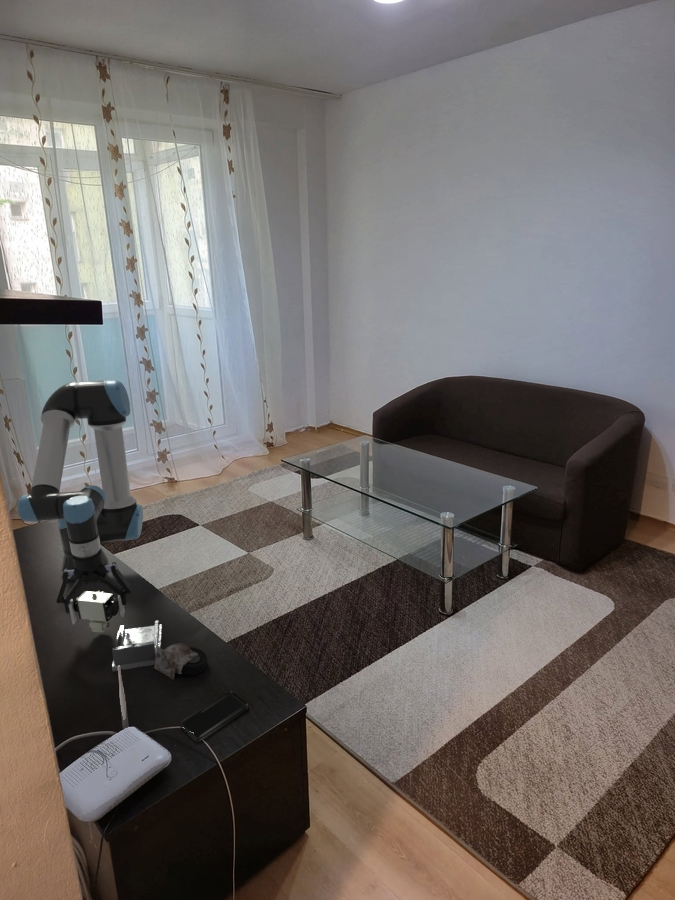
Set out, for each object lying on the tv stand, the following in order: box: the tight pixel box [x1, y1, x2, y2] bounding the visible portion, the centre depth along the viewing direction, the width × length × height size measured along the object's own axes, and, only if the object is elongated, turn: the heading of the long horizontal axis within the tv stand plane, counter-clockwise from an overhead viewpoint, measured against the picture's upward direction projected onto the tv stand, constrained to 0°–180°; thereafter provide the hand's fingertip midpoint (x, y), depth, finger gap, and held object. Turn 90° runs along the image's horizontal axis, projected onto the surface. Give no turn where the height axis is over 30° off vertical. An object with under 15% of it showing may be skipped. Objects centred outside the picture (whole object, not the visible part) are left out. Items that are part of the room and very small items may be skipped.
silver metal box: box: [111, 620, 163, 672], centre depth 170 cm, size 16×12×6 cm
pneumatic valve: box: [73, 590, 120, 634], centre depth 175 cm, size 6×12×12 cm, turn 78°
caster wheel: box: [153, 642, 208, 680], centre depth 162 cm, size 7×11×10 cm
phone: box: [179, 690, 249, 743], centre depth 146 cm, size 8×1×15 cm
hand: (98, 617), depth 176 cm, fingers closed on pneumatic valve, 12 cm apart
